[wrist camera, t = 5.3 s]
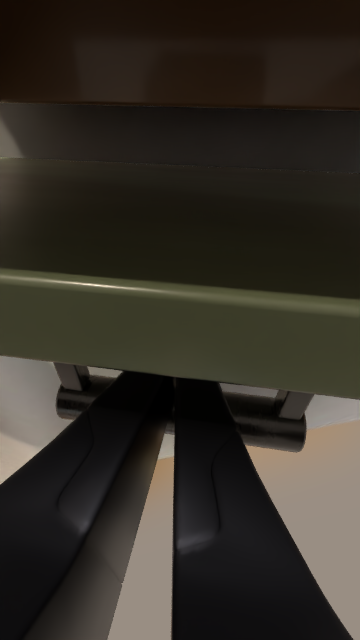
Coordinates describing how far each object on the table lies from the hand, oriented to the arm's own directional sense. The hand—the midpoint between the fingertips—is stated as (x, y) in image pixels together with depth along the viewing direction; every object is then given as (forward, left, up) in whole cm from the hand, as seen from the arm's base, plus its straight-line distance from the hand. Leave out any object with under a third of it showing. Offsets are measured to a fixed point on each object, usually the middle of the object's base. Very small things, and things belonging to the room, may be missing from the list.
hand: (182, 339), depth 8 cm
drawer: (0, -7, -3) cm, 8 cm away
